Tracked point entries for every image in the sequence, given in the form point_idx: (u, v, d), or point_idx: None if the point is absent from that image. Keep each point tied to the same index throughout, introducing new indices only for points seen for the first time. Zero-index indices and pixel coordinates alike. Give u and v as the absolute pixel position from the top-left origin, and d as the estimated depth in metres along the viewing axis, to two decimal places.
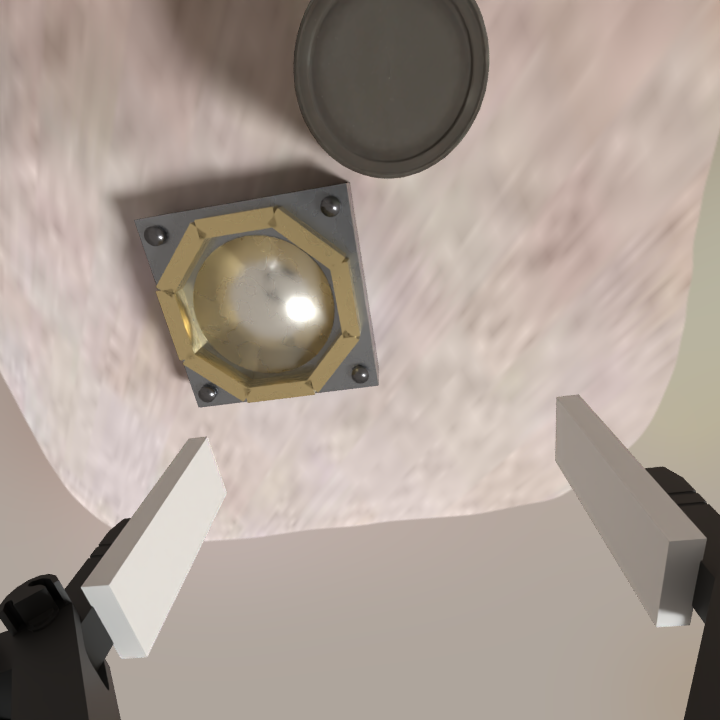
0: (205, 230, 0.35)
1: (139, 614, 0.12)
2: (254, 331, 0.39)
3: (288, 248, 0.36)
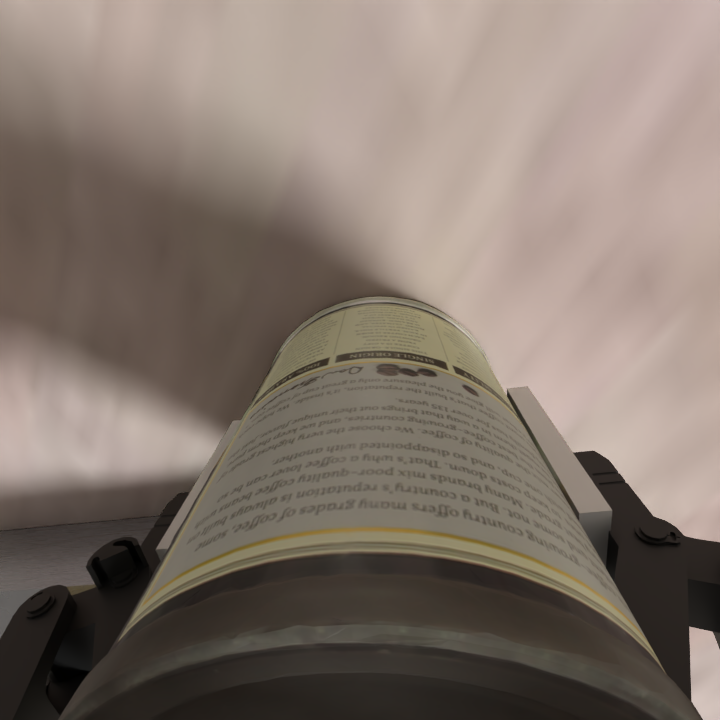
0: None
1: None
2: None
3: None
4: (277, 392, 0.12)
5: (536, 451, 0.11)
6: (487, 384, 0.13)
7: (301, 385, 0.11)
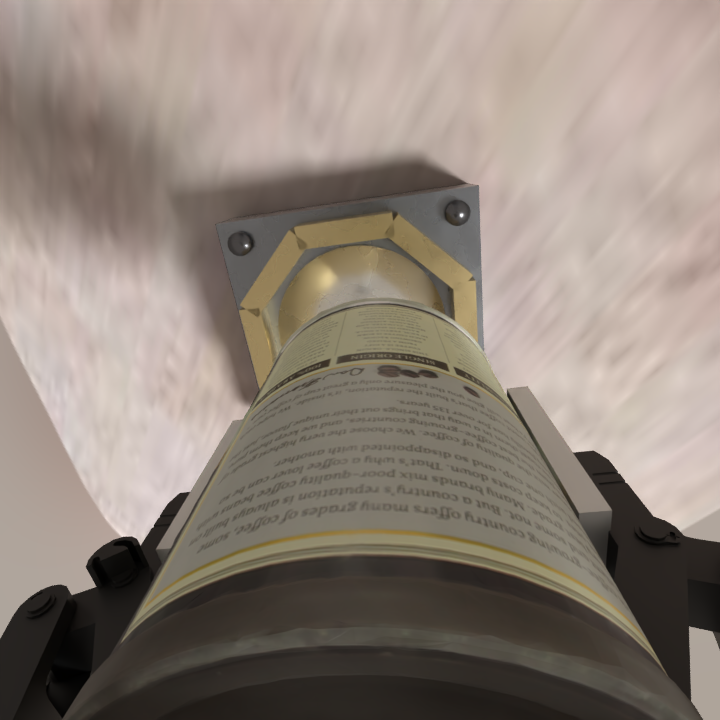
0: (306, 239, 0.29)
1: None
2: None
3: (399, 261, 0.30)
4: (278, 393, 0.12)
5: (537, 452, 0.11)
6: (488, 385, 0.13)
7: (303, 386, 0.11)
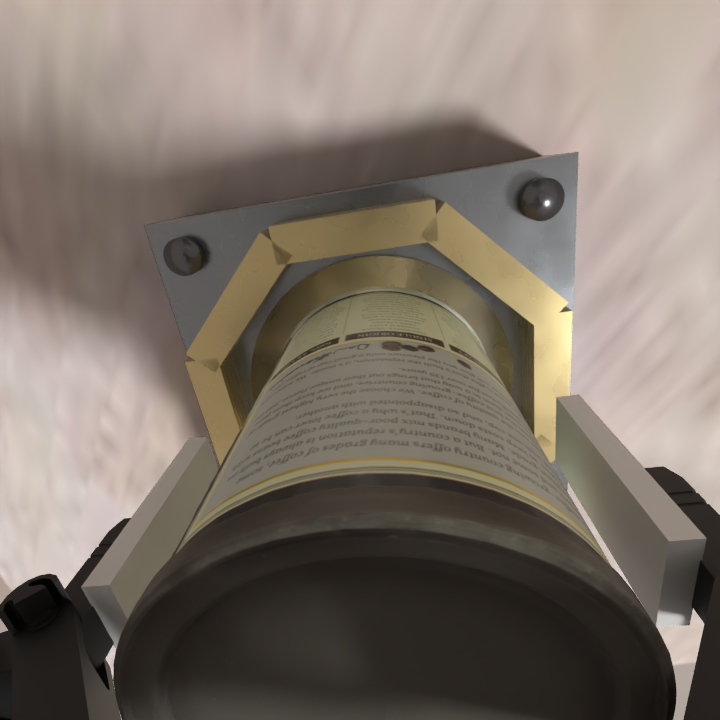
0: (289, 247, 0.17)
1: None
2: None
3: (441, 281, 0.19)
4: (293, 367, 0.13)
5: (521, 416, 0.12)
6: (479, 361, 0.14)
7: (316, 359, 0.13)
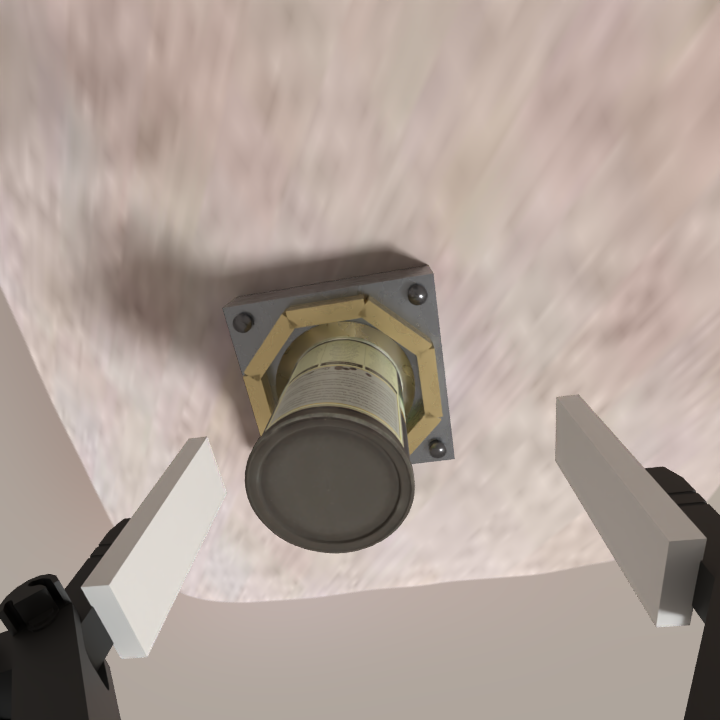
0: (296, 320, 0.35)
1: (139, 614, 0.12)
2: None
3: (373, 333, 0.37)
4: (298, 377, 0.32)
5: (390, 395, 0.30)
6: (379, 373, 0.32)
7: (308, 374, 0.31)
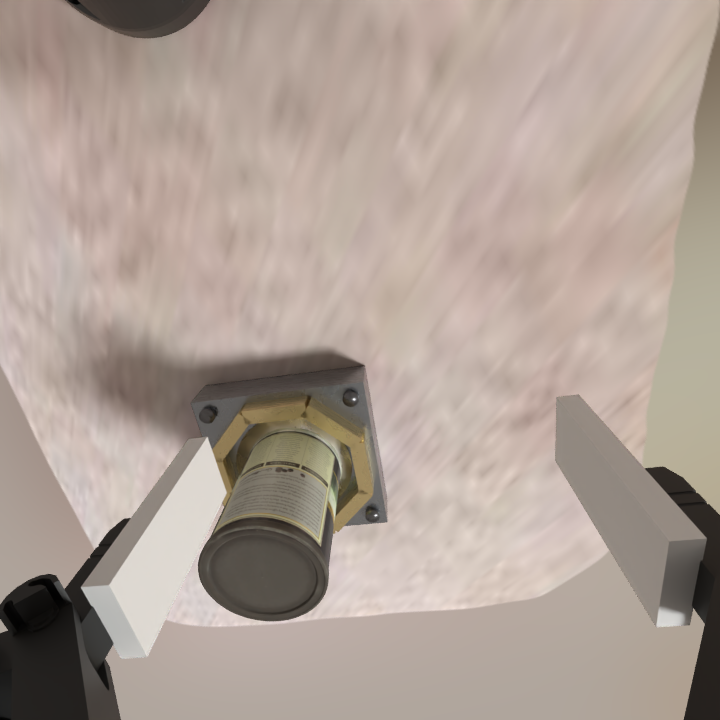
0: (250, 418, 0.43)
1: (139, 614, 0.12)
2: None
3: (315, 425, 0.45)
4: (247, 474, 0.39)
5: (319, 493, 0.38)
6: (314, 470, 0.40)
7: (254, 473, 0.39)
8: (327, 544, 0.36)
